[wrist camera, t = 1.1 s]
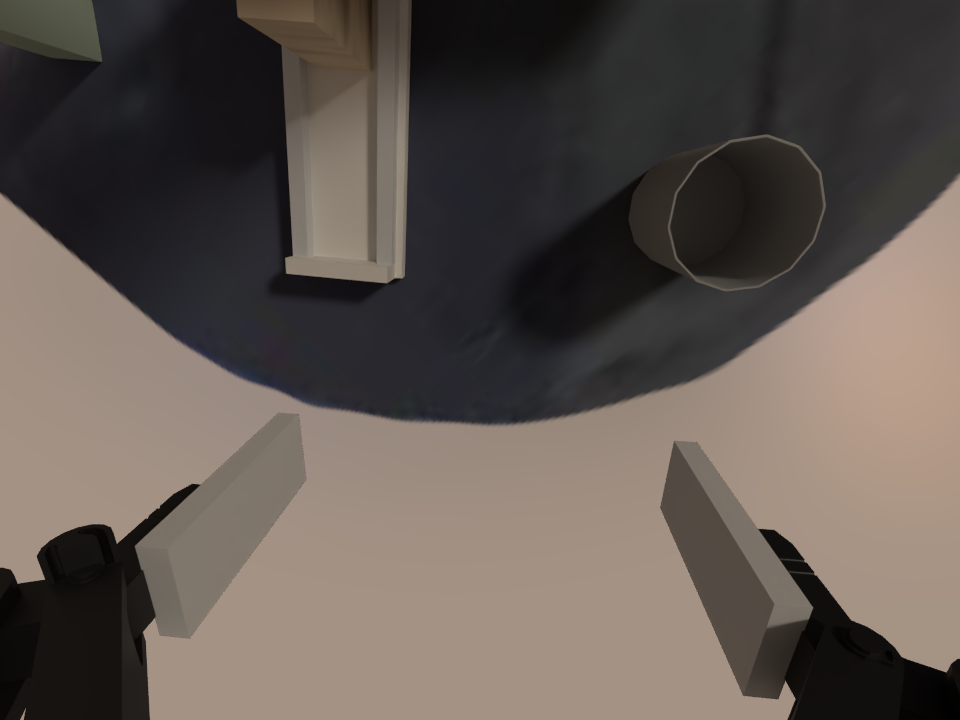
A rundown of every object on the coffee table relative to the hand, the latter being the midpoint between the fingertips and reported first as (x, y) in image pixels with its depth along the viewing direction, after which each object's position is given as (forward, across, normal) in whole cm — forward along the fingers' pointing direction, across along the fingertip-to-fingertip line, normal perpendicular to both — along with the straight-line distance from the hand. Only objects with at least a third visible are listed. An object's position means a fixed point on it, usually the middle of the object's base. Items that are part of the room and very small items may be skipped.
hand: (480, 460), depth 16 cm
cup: (+24, +14, +8) cm, 29 cm away
